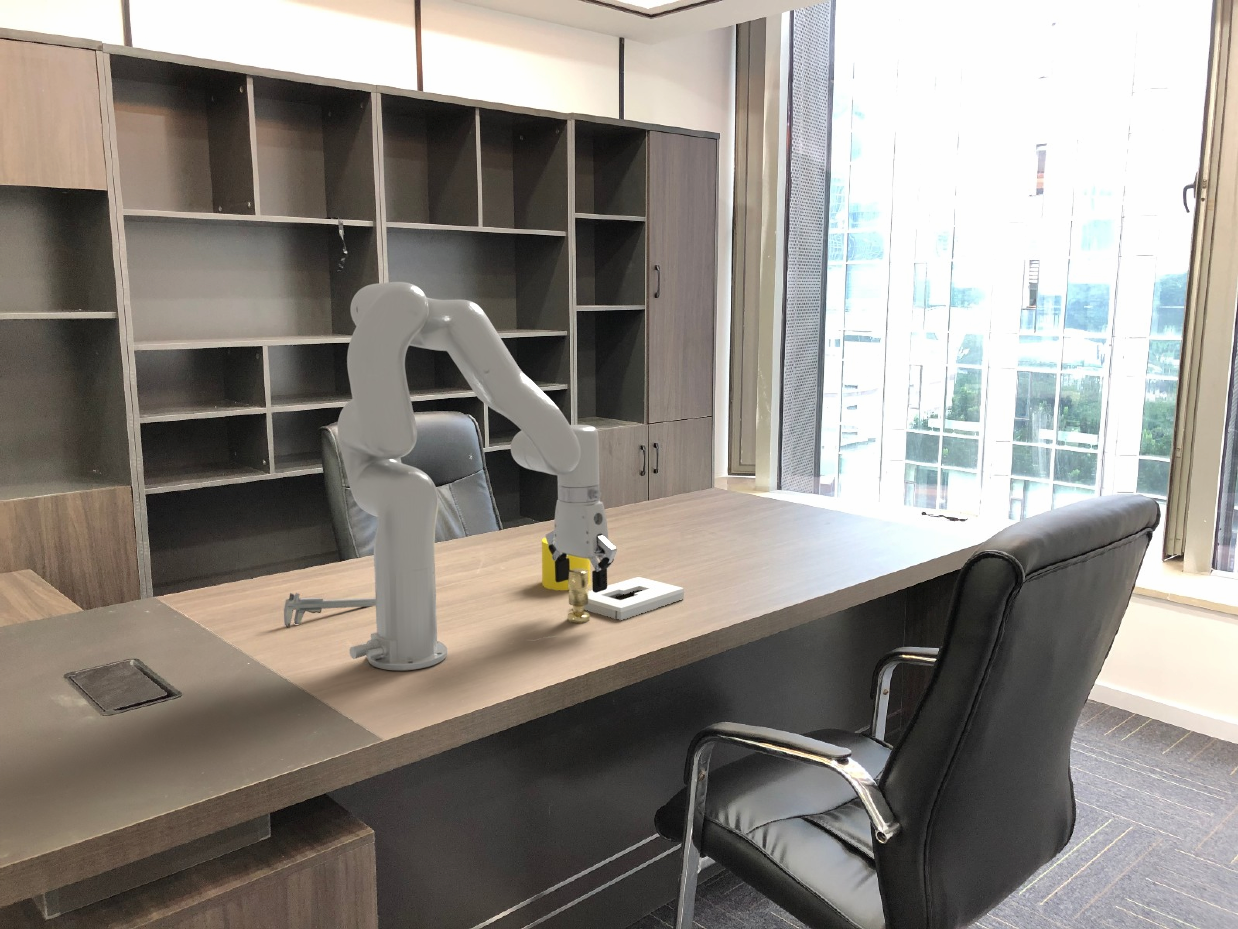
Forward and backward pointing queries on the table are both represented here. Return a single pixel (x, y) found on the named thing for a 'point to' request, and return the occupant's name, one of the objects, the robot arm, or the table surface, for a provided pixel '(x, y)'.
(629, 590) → the keyhole plate
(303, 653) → the table surface
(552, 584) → the yellow toilet paper roll
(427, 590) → the robot arm
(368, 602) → the caliper
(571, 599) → the brass peg
